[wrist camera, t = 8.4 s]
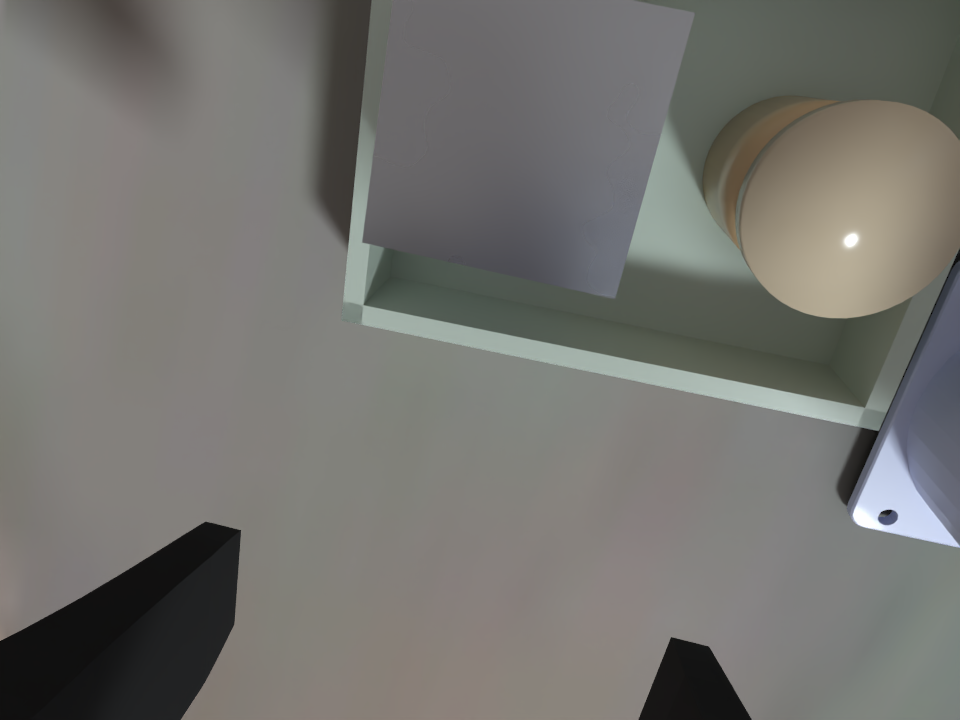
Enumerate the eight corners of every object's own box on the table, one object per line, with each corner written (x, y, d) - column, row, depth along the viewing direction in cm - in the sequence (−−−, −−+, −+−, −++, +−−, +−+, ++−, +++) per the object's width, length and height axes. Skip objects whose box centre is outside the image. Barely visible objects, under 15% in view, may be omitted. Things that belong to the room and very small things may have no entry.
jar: (889, 106, 16) (1015, 123, 12) (829, 264, 18) (920, 336, 13) (724, 77, 17) (782, 81, 12) (679, 235, 18) (714, 296, 13)
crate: (1002, -32, 15) (1093, -54, 13) (836, 379, 19) (878, 430, 17) (420, -128, 16) (387, -170, 13) (374, 286, 20) (341, 320, 17)
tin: (655, 33, 16) (695, 12, 11) (604, 226, 18) (615, 299, 12) (462, -6, 17) (399, -47, 11) (431, 188, 18) (361, 242, 13)
